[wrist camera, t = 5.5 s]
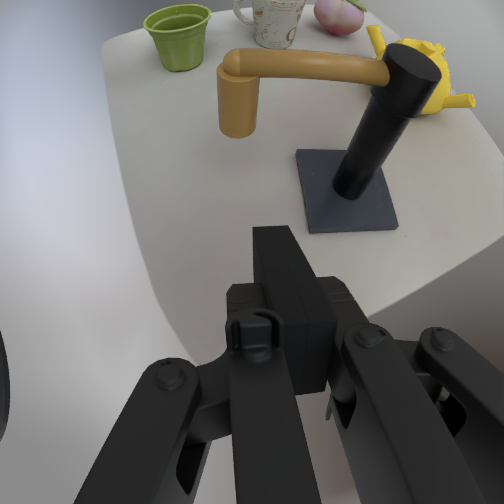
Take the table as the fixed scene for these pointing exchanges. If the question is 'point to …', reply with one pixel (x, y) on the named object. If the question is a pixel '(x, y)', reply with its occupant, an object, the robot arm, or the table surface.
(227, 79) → the spout
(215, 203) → the table surface
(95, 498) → the robot arm
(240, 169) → the table surface
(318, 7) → the decorative fruit
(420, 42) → the teapot
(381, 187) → the square base plate
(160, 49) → the plant pot
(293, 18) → the mug
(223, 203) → the table surface
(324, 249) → the table surface
